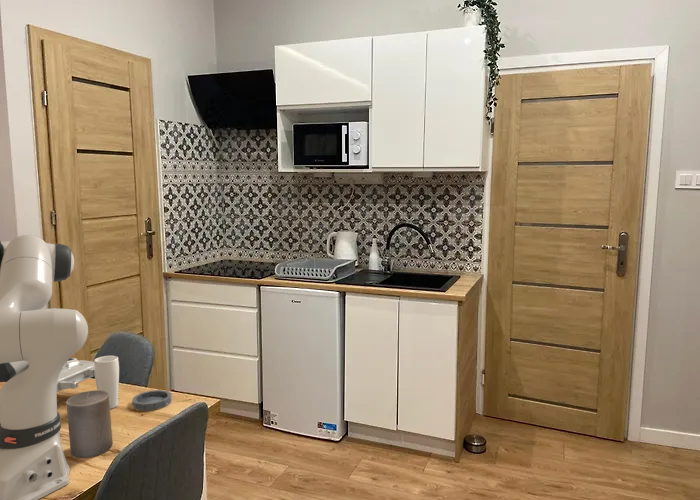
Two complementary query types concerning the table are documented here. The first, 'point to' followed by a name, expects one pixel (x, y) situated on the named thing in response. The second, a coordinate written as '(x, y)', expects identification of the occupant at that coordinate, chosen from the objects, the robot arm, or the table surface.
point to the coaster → (151, 400)
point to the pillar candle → (89, 423)
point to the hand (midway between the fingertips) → (88, 379)
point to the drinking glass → (108, 377)
